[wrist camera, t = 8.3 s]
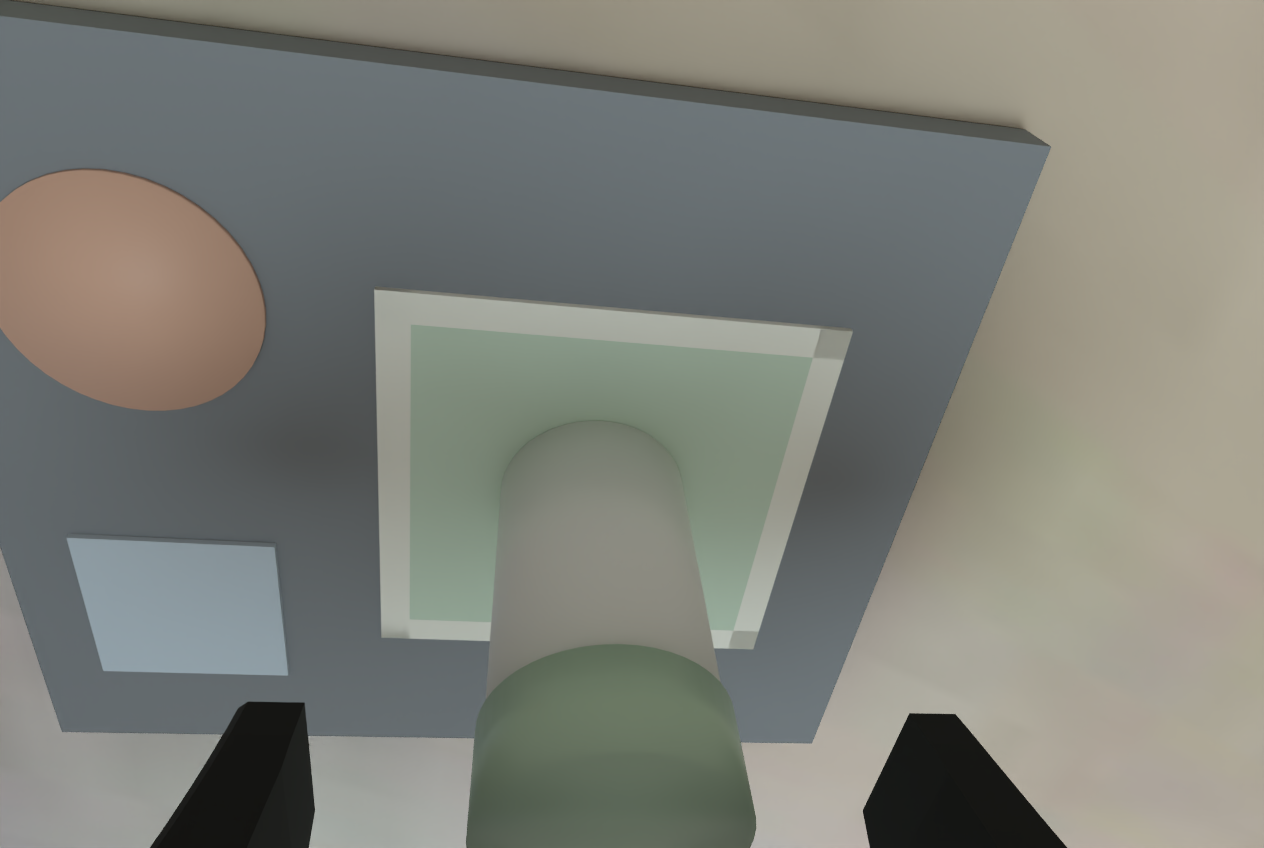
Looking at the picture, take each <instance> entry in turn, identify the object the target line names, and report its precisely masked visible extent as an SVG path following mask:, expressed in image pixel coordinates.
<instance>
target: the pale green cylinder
mask: <svg viewBox="0 0 1264 848" xmlns="http://www.w3.org/2000/svg"><path fill="white" fill-rule="evenodd" d="M755 831H756V816H755V811H754V806H753V801H752V796H751V791H750V786H749V781H748V776H747V771H746V766H745V761H744V756H743V751H742V746H741V741H740V736H739V732H738V727H737V722H736V717H735V712H734V708H733V704H732V700H731V698H730V696H729V694H728V692H727V690H726V689H725V688H724V686H723V685H722V684H721V682H720V677H719V672H718V666H717V661H716V656H715V651H714V646H713V640H712V635H711V630H710V625H709V620H708V614H707V609H706V604H705V599H704V594H703V588H702V583H701V578H700V573H699V568H698V562H697V557H696V552H695V547H694V542H693V536H692V531H691V526H690V521H689V516H688V510H687V505H686V500H685V495H684V490H683V484H682V479H681V475H680V471H679V469H678V467H677V464H676V462H675V460H674V459H673V457H672V456H671V454H670V453H669V452H668V451H667V450H666V448H665V447H664V446H663V445H661V444H660V443H659V442H658V441H657V440H656V439H654V438H653V437H651V436H649V435H648V434H646V433H644V432H642V431H640V430H638V429H636V428H633V427H630V426H627V425H624V424H619V423H615V422H608V421H582V422H574V423H570V424H565V425H561V426H559V427H556V428H553V429H550V430H548V431H546V432H544V433H542V434H540V435H538V436H537V437H535V438H534V439H532V440H531V441H529V442H528V443H527V444H526V445H525V446H523V447H522V448H521V449H520V450H519V451H518V453H517V454H516V455H515V456H514V457H513V459H512V460H511V462H510V463H509V465H508V467H507V469H506V471H505V473H504V477H503V480H502V485H501V494H500V508H499V522H498V536H497V550H496V564H495V577H494V591H493V605H492V619H491V633H490V647H489V660H488V674H487V688H486V700H485V702H484V704H483V705H482V707H481V709H480V711H479V714H478V717H477V720H476V727H475V738H474V750H473V762H472V775H471V787H470V799H469V812H468V824H467V836H466V846H467V848H750V846H751V844H752V842H753V839H754V835H755Z"/></svg>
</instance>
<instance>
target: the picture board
mask: <svg viewBox="0 0 1264 848" xmlns="http://www.w3.org/2000/svg"><path fill="white" fill-rule="evenodd" d="M1050 148H1051V146H1049V145H1048V144H1046V143H1045V142H1043V141H1042V140H1040V139H1039V138H1037V137H1036V136H1034V135H1033V134H1031V133H1030V132H1028V131H1027V130H1025V129H1018V128H1010V127H1002V126H994V125H986V124H978V123H970V122H962V121H955V120H947V119H939V118H931V117H923V116H915V115H907V114H900V113H892V112H884V111H876V110H868V109H860V108H852V107H844V106H837V105H829V104H821V103H813V102H805V101H797V100H789V99H781V98H774V97H766V96H758V95H750V94H742V93H734V92H726V91H719V90H711V89H703V88H695V87H687V86H679V85H671V84H663V83H656V82H648V81H640V80H632V79H624V78H616V77H608V76H601V75H593V74H585V73H577V72H569V71H561V70H553V69H545V68H538V67H530V66H522V65H514V64H506V63H498V62H490V61H483V60H475V59H467V58H459V57H451V56H443V55H435V54H427V53H420V52H412V51H404V50H396V49H388V48H380V47H372V46H364V45H357V44H349V43H341V42H333V41H325V40H317V39H309V38H302V37H294V36H286V35H278V34H270V33H262V32H254V31H246V30H239V29H231V28H223V27H215V26H207V25H199V24H191V23H184V22H176V21H168V20H160V19H152V18H144V17H136V16H128V15H121V14H113V13H105V12H97V11H89V10H81V9H73V8H66V7H58V6H50V5H42V4H34V3H26V2H18V1H10V0H0V547H1V550H2V553H3V556H4V559H5V562H6V565H7V568H8V571H9V574H10V577H11V580H12V583H13V586H14V589H15V592H16V595H17V598H18V601H19V604H20V607H21V610H22V613H23V616H24V619H25V622H26V625H27V628H28V631H29V634H30V637H31V640H32V643H33V646H34V649H35V652H36V655H37V658H38V661H39V664H40V667H41V670H42V673H43V676H44V679H45V682H46V685H47V688H48V691H49V694H50V697H51V700H52V703H53V706H54V709H55V712H56V715H57V718H58V721H59V724H60V727H61V730H62V732H104V733H169V734H224V732H225V730H226V729H227V727H228V725H229V723H230V721H231V720H232V718H233V716H234V714H235V713H236V711H237V709H238V708H239V707H240V706H242V705H243V704H245V703H246V702H304V703H305V711H306V721H307V732H308V736H363V737H428V738H475V727H476V720H477V717H478V714H479V711H480V709H481V707H482V705H483V704H484V702H485V700H486V688H487V674H488V660H489V647H490V633H491V619H492V605H493V591H494V577H495V564H496V550H497V536H498V522H499V508H500V494H501V485H502V480H503V477H504V473H505V471H506V469H507V467H508V465H509V463H510V462H511V460H512V459H513V457H514V456H515V455H516V454H517V453H518V451H519V450H520V449H521V448H522V447H523V446H525V445H526V444H527V443H528V442H529V441H531V440H532V439H534V438H535V437H537V436H538V435H540V434H542V433H544V432H546V431H548V430H550V429H553V428H556V427H559V426H561V425H565V424H570V423H574V422H582V421H608V422H615V423H619V424H624V425H627V426H630V427H633V428H636V429H638V430H640V431H642V432H644V433H646V434H648V435H649V436H651V437H653V438H654V439H656V440H657V441H658V442H659V443H660V444H661V445H663V446H664V447H665V448H666V450H667V451H668V452H669V453H670V454H671V456H672V457H673V459H674V460H675V462H676V464H677V467H678V469H679V471H680V475H681V479H682V484H683V490H684V495H685V500H686V505H687V510H688V516H689V521H690V526H691V531H692V536H693V542H694V547H695V552H696V557H697V562H698V568H699V573H700V578H701V583H702V588H703V594H704V599H705V604H706V609H707V614H708V620H709V625H710V630H711V635H712V640H713V646H714V651H715V656H716V661H717V666H718V672H719V677H720V682H721V684H722V685H723V686H724V688H725V689H726V690H727V692H728V694H729V696H730V698H731V700H732V704H733V708H734V712H735V717H736V722H737V727H738V732H739V736H740V741H741V742H752V743H812V742H813V739H814V737H815V734H816V732H817V729H818V727H819V724H820V722H821V719H822V717H823V714H824V712H825V709H826V707H827V704H828V702H829V699H830V697H831V694H832V692H833V689H834V687H835V684H836V682H837V679H838V677H839V674H840V672H841V669H842V667H843V664H844V662H845V659H846V657H847V654H848V652H849V649H850V647H851V644H852V642H853V639H854V637H855V634H856V632H857V629H858V627H859V625H860V622H861V620H862V617H863V615H864V612H865V610H866V607H867V605H868V602H869V600H870V597H871V595H872V592H873V590H874V587H875V585H876V582H877V580H878V577H879V575H880V572H881V570H882V567H883V565H884V562H885V560H886V557H887V555H888V552H889V550H890V547H891V545H892V542H893V540H894V537H895V535H896V532H897V530H898V527H899V525H900V522H901V520H902V517H903V515H904V512H905V510H906V507H907V505H908V502H909V500H910V497H911V495H912V492H913V490H914V487H915V485H916V482H917V480H918V477H919V475H920V472H921V470H922V468H923V465H924V463H925V460H926V458H927V455H928V453H929V450H930V448H931V445H932V443H933V440H934V438H935V435H936V433H937V430H938V428H939V425H940V423H941V420H942V418H943V415H944V413H945V410H946V408H947V405H948V403H949V400H950V398H951V395H952V393H953V390H954V388H955V385H956V383H957V380H958V378H959V375H960V373H961V370H962V368H963V365H964V363H965V360H966V358H967V355H968V353H969V350H970V348H971V345H972V343H973V340H974V338H975V335H976V333H977V330H978V328H979V325H980V323H981V320H982V318H983V315H984V313H985V310H986V308H987V306H988V303H989V301H990V298H991V296H992V293H993V291H994V288H995V286H996V283H997V281H998V278H999V276H1000V273H1001V271H1002V268H1003V266H1004V263H1005V261H1006V258H1007V256H1008V253H1009V251H1010V248H1011V246H1012V243H1013V241H1014V238H1015V236H1016V233H1017V231H1018V228H1019V226H1020V223H1021V221H1022V218H1023V216H1024V213H1025V211H1026V208H1027V206H1028V203H1029V201H1030V198H1031V196H1032V193H1033V191H1034V188H1035V186H1036V183H1037V181H1038V178H1039V176H1040V173H1041V171H1042V168H1043V166H1044V163H1045V161H1046V158H1047V156H1048V153H1049V151H1050Z"/></svg>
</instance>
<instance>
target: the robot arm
mask: <svg viewBox="0 0 1264 848" xmlns="http://www.w3.org/2000/svg"><path fill="white" fill-rule="evenodd" d="M314 812H315V807H314V796H313V785H312V775H311V764H310V753H309V743H308V732H307V721H306V711H305V703H304V702H246V703H245V704H243V705H242V706H240V707H239V708H238V709H237V711H236V713H235V714H234V716H233V718H232V720H231V721H230V723H229V725H228V727H227V729H226V730H225V732H224V734H223V736H222V737H221V739H220V741H219V742H218V744H217V746H216V747H215V749H214V751H213V752H212V754H211V756H210V757H209V759H208V761H207V762H206V764H205V765H204V767H203V769H202V770H201V772H200V773H199V775H198V777H197V778H196V780H195V781H194V783H193V784H192V786H191V788H190V789H189V791H188V792H187V794H186V795H185V797H184V798H183V800H182V801H181V803H180V804H179V806H178V807H177V809H176V810H175V812H174V813H173V815H172V816H171V818H170V819H169V821H168V823H167V824H166V826H165V827H164V828H163V830H162V831H161V833H160V834H159V836H158V837H157V838H156V840H155V841H154V843H153V844H152V846H151V847H150V848H309V842H310V836H311V830H312V824H313V818H314ZM863 814H864V819H865V824H866V830H867V835H868V840H869V845H870V848H1067V847H1066V846H1065V845H1064V843H1063V842H1062V841H1061V840H1060V839H1059V838H1058V836H1057V835H1056V834H1055V833H1054V832H1053V831H1052V829H1051V828H1050V827H1049V826H1048V825H1047V823H1046V822H1045V821H1044V820H1043V819H1042V817H1041V816H1040V815H1039V814H1038V813H1037V812H1036V810H1035V809H1034V808H1033V807H1032V806H1031V804H1030V803H1029V802H1028V801H1027V800H1026V798H1025V797H1024V796H1023V795H1022V794H1021V792H1020V791H1019V790H1018V789H1017V788H1016V786H1015V785H1014V784H1013V783H1012V782H1011V780H1010V779H1009V778H1008V777H1007V776H1006V774H1005V773H1004V772H1003V771H1002V769H1001V768H1000V767H999V766H998V765H997V763H996V762H995V761H994V760H993V759H992V757H991V756H990V755H989V754H988V752H987V751H986V750H985V749H984V748H983V746H982V745H981V744H980V743H979V742H978V740H977V739H976V738H975V737H974V736H973V734H972V733H971V732H970V731H969V730H968V728H967V727H966V726H965V725H964V724H963V723H962V721H961V720H960V719H959V718H958V717H957V716H956V714H913V713H910V714H909V716H908V718H907V720H906V722H905V724H904V726H903V728H902V730H901V732H900V734H899V736H898V738H897V741H896V743H895V745H894V747H893V749H892V751H891V753H890V755H889V757H888V759H887V761H886V763H885V766H884V768H883V770H882V772H881V774H880V776H879V778H878V780H877V782H876V784H875V786H874V788H873V790H872V793H871V795H870V797H869V799H868V801H867V803H866V805H865V807H864V809H863Z"/></svg>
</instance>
